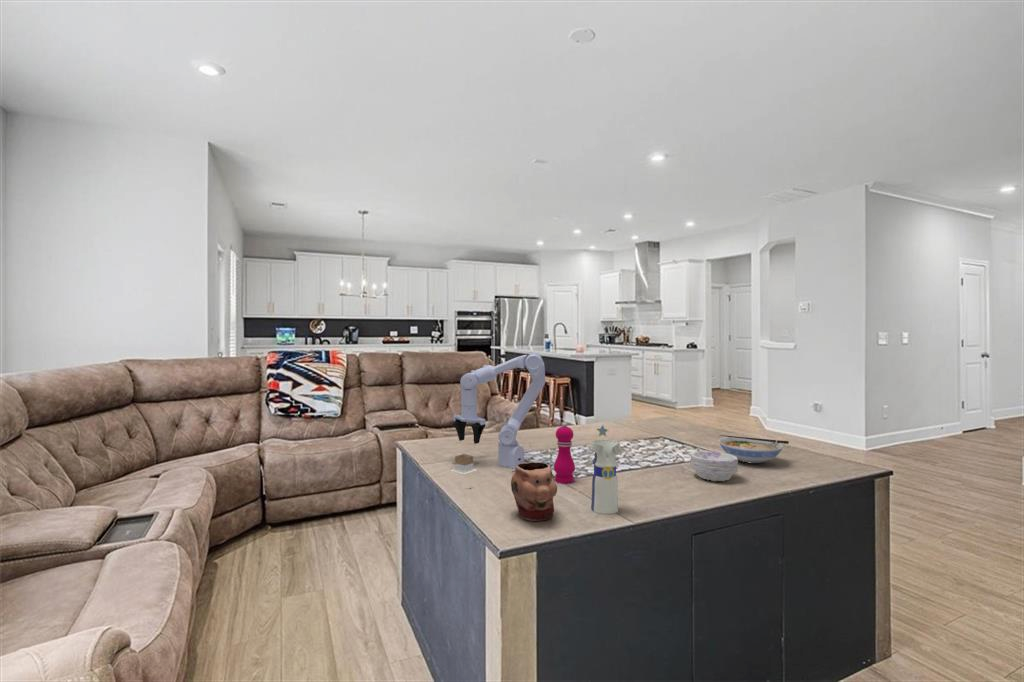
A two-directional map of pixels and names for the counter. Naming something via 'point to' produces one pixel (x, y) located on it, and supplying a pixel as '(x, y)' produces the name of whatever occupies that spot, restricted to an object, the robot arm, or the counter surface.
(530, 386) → the robot arm
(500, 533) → the counter surface
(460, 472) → the stand
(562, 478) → the pepper mill
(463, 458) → the block
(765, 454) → the ramen bowl
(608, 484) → the white figurine with star
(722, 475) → the paper bowls
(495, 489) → the counter surface
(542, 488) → the decorative planter
